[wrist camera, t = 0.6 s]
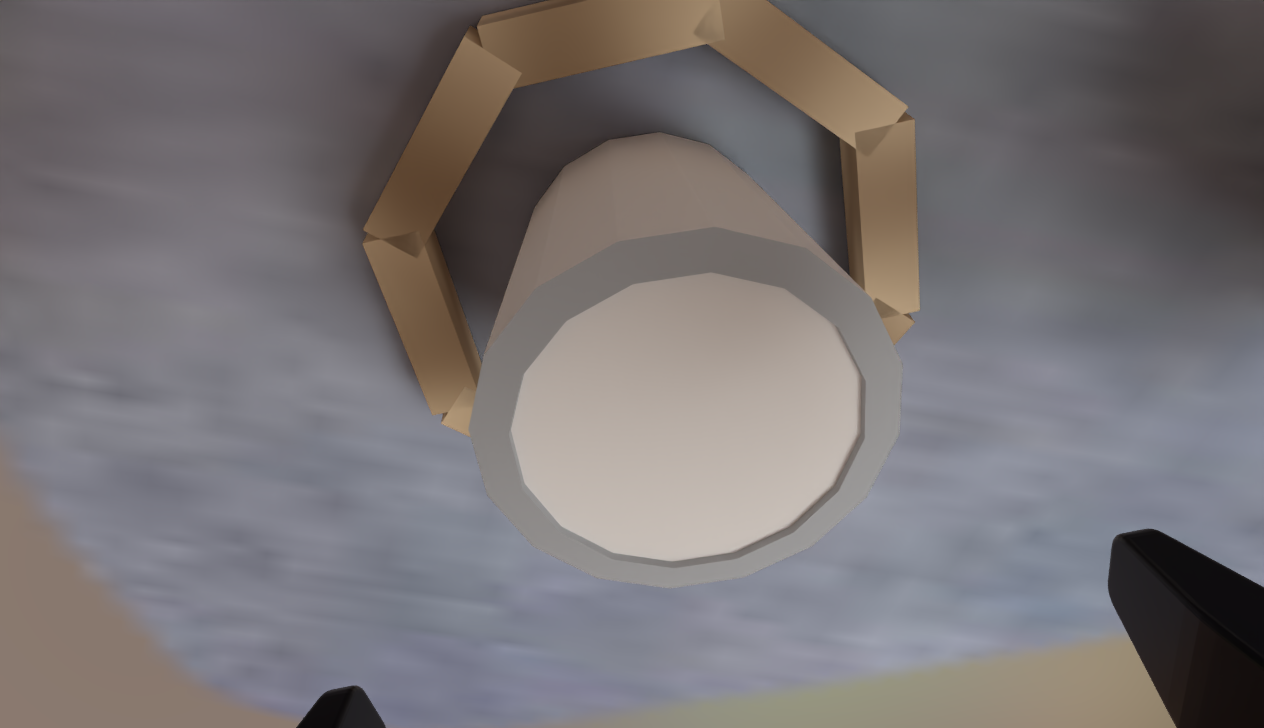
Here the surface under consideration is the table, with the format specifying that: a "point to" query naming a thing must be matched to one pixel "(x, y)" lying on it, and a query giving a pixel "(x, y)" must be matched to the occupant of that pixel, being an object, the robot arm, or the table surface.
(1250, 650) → the robot arm
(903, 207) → the oak collar
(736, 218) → the shot glass
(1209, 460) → the table surface
